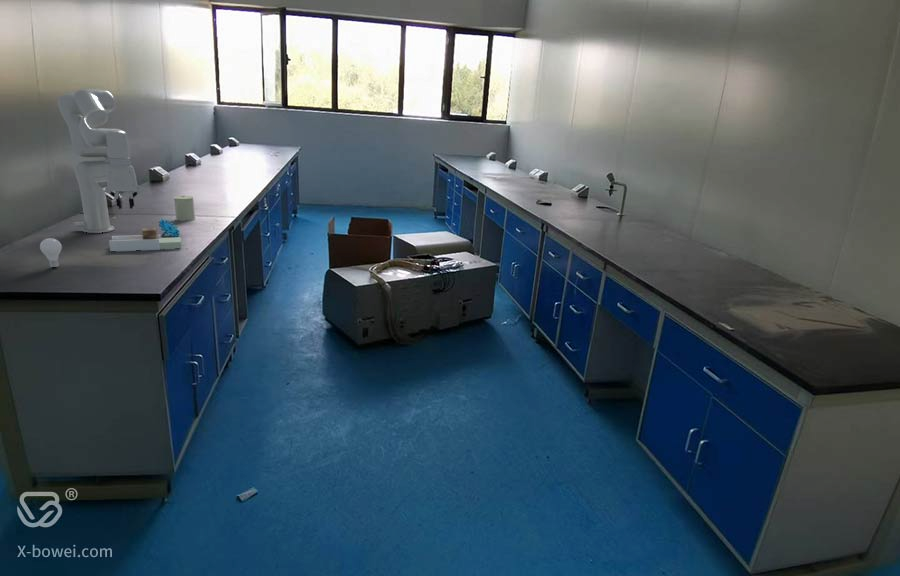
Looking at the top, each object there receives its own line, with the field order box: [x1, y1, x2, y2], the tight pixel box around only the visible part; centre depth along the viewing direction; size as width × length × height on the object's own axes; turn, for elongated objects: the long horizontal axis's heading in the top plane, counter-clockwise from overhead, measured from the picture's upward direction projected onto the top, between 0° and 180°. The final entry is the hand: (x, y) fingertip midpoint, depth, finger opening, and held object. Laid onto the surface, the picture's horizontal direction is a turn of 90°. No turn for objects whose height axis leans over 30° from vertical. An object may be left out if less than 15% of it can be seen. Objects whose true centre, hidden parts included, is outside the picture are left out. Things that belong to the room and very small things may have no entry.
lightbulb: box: [39, 237, 63, 268], centre depth 195 cm, size 6×6×11 cm
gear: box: [158, 219, 181, 238], centre depth 248 cm, size 11×6×10 cm
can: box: [173, 195, 196, 222], centre depth 281 cm, size 9×9×12 cm
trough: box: [108, 234, 183, 252], centre depth 228 cm, size 26×9×4 cm, turn 113°
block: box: [141, 227, 158, 239], centre depth 227 cm, size 5×5×5 cm
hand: (125, 207), depth 221 cm, fingers open, 3 cm apart
